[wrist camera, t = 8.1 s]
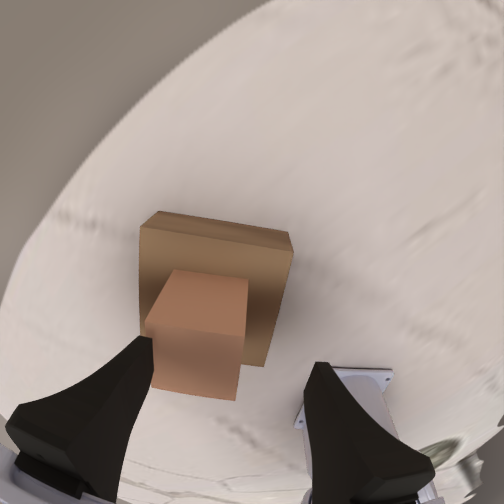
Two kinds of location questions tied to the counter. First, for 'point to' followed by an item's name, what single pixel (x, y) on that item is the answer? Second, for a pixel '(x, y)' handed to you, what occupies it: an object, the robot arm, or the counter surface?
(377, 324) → the counter surface
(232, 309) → the terracotta block
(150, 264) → the walnut base block
